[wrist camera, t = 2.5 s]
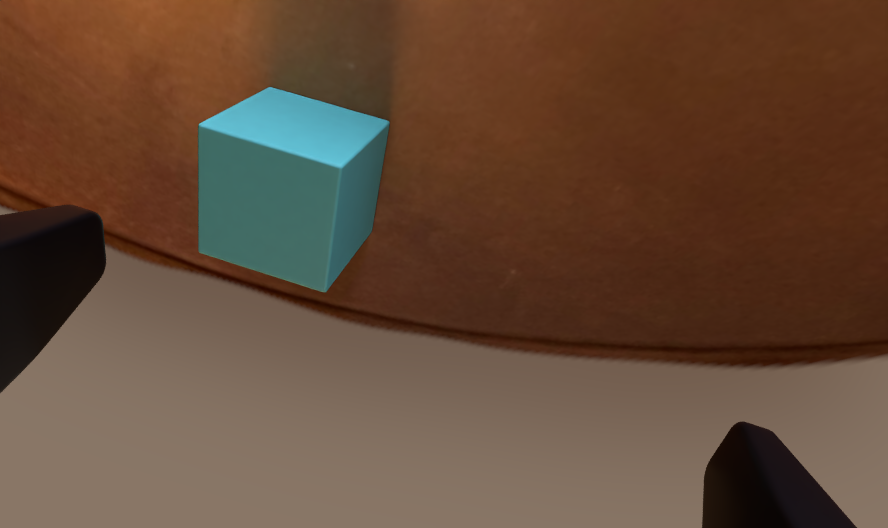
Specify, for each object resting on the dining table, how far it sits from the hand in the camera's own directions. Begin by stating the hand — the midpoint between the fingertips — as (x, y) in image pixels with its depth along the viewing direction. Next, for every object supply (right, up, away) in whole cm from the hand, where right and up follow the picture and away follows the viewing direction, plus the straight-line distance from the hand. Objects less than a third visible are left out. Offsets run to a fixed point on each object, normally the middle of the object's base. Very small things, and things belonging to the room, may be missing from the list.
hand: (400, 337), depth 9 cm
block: (-3, +4, +12) cm, 13 cm away
